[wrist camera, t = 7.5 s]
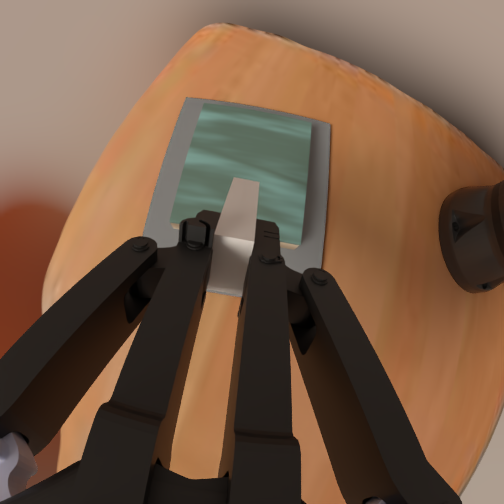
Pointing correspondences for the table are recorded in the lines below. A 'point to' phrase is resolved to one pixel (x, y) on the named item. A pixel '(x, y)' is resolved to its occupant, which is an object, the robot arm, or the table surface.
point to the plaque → (247, 166)
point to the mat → (315, 192)
